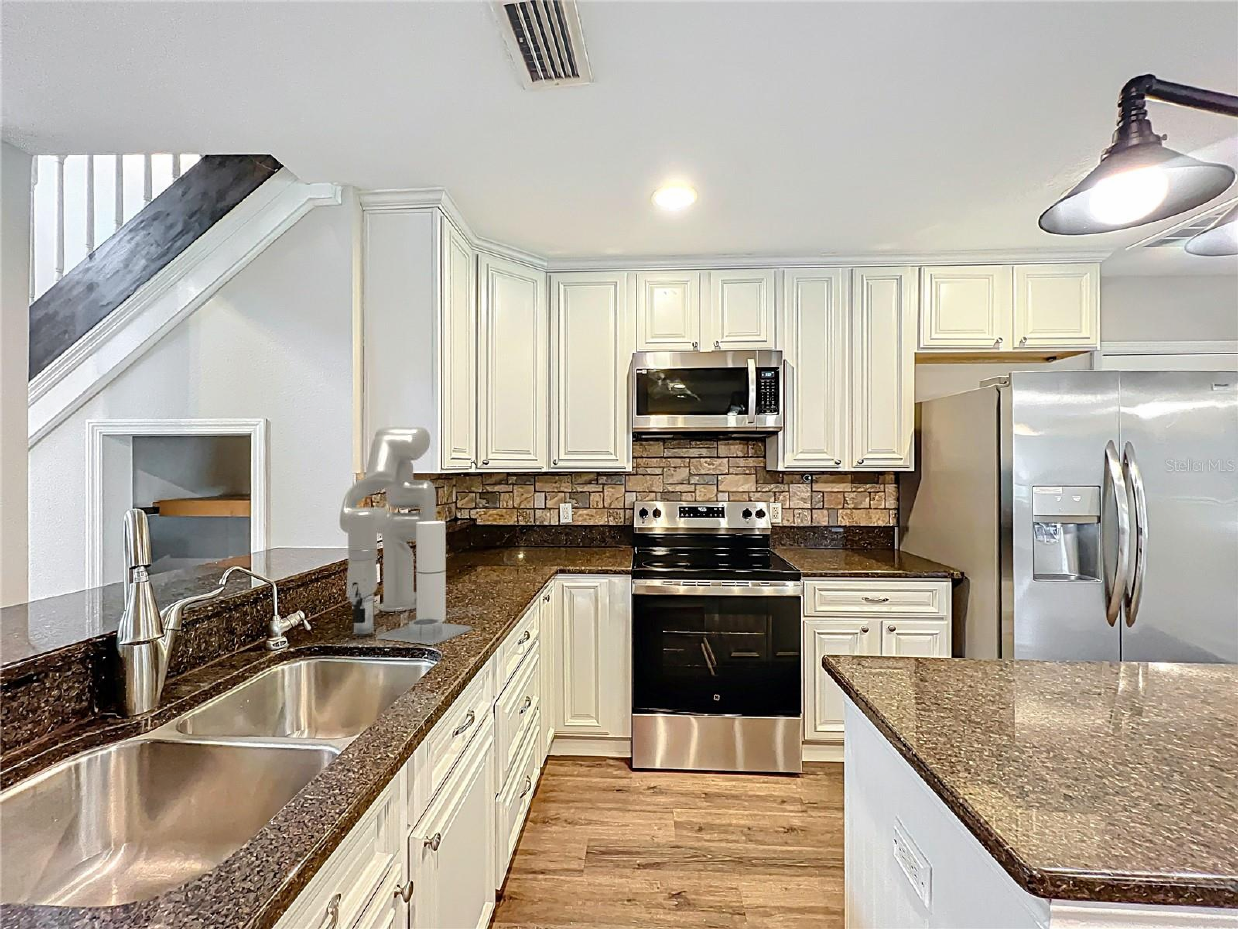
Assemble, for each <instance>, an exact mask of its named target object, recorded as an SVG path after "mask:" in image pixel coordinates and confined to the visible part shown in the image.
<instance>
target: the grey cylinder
mask: <svg viewBox="0 0 1238 929" xmlns="http://www.w3.org/2000/svg"><path fill="white" fill-rule="evenodd" d="M357 597H361V595H357ZM357 600H359V601H360V603H361V599H357ZM364 608H365V623H353V633H354V634H355V635H366V634H371V633H373V632H374V617H373V595H372V594H370V595H368V596H366V597H365V600H364Z"/></svg>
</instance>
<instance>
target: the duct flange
mask: <svg viewBox="0 0 1238 929" xmlns="http://www.w3.org/2000/svg"><path fill="white" fill-rule="evenodd" d="M471 630H472V625H463V624H462V625H461V624H453V623H446V622H445V623H444V622H442V621H441V619H435V618H424V619H417V618H416V619H414V620H411V621H409V622H408V624H406V625H404V626H401V627H399V628H396V629H392V630H390V631H386V632H384V633H381V634H378V635H377V636H376V639H377V638H380V639H386V640H398V641H405V642H410V643H423V644H427V645H433V646H435V645H437V644H436V643H438V644H440V643H442V642H445V641H447V640H450V639H452V638H455V637H457V636H459V635H461V634H465V633H468V632H469V631H471ZM386 640H385V641H386ZM410 643H409V644H410ZM434 644H435V645H434Z"/></svg>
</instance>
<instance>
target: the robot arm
mask: <svg viewBox="0 0 1238 929" xmlns="http://www.w3.org/2000/svg"><path fill="white" fill-rule="evenodd" d="M430 445H431V436H430V432H429V431H428V430H427V429H426V427H425V428H424V427H414V426H413V427H403V426H401V427H399V426H394V427H393V426H391V427H390V426H389V427H382V428H379V429H378V430H376V432H375V434H374V438H373V440H372V444H371V447H370V453H369V456H368V462H367V467H366V470H365V475H364V476H362V477H361V478H360V479H359V480H358V481H357V482H355V483H354V484H353V485H352V486H351V488H349V489H348V490H347V492H346V494H345V496H344V497H343V501H342V506H341V508H340V509H341V510H340V513H339V514H340V515H339V526H340V529H341V531H343V532H344V533H347V557H348V559H347V562H348V566H347V574H346V597H347V598H348V599H349V602H350V603H351V605H352V606H351V609H352V622H353V624H354V623H365V608H364V600H365V597H366V596H368V595H370V594H372V595H373V618H374V616H375V603H374V602H375V592H376V591H377V590H378V572H377V571H378V570H377V569H378V568H377V560H378V534H380V536H381V541H382V552H383V553H382V554H383V558H382V560H383V571H382V572H383V576H382V578H383V580H382V581H383V583H382V584H383V590H382V591H383V594H382V595H383V602H382V603H380V604H379V605H378V610H379V611H382V612H388V613H389V612H390V613H391V612H394V611H395V612H404V611H405V610H406V611H410V609H411V610H414V609H417V591H414V587H415V586H414V584H415V583H414V582H415V581H414V580H415V579H414V578H415V577H414V573H415V572H414V564H415V563H414V560H415V556H414V553H413V550H412V548H411V547H410V546H409V544H408V543H407V542H416V523H417V522H425V521H437V519H436V517H437V516H436V515H437V514H436V513H437V512H436V511H437V508H436V506H437V494H436V488H435V485H434V483H433V482H432V481H429V480H424V479H421V480H420V479H415V480H414V464H413V463H412V461H417V460H419V459H421V457H423V456H424V455H425V454H426V453H427V451H428V450H429V448H430ZM384 489H385V498H386V504H387V506H388V507H390V508H391V509H402V510H404V509H409V510H413V509H419V511H420V512H391V510H390V509H388V508H386V507H365V506H364V507H358V505H359V503H360V502H362V500H363V499H365V498H367V497H368V496H370V495H373V494H375V493H378V492H381V491H382V490H384ZM357 595H361V597H357ZM357 599H361V603H360V601H359V600H357Z"/></svg>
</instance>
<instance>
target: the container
mask: <svg viewBox="0 0 1238 929" xmlns="http://www.w3.org/2000/svg"><path fill="white" fill-rule="evenodd" d="M446 532H447V531H446V521H442V520H436V521H425V522H417V523H416V541H415V542H416V543H415V546H416V548H415V549H416V551H415V552H416V562H415V564H416V575H415V576H416V578H415V579H416V581H415V582H416V592H417V598H416V602H417V608H416V619H424V618H435V619H441V621H442V623H444V622H445V621H446V620H447V616H446V614H447V612H446V611H447V610H446V609H447V608H446V606H447V605H446V602H447V601H446V600H447V599H446V598H447V597H446V596H447V595H446V590H447V589H446V587H447V583H446V582H447V581H446V578H447V575H446V573H447V572H446V570H447V569H446V568H447V567H446V560H447V559H446V556H447V555H446V553H447V552H446V550H447V549H446V545H447V544H446V538H447V537H446Z"/></svg>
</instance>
